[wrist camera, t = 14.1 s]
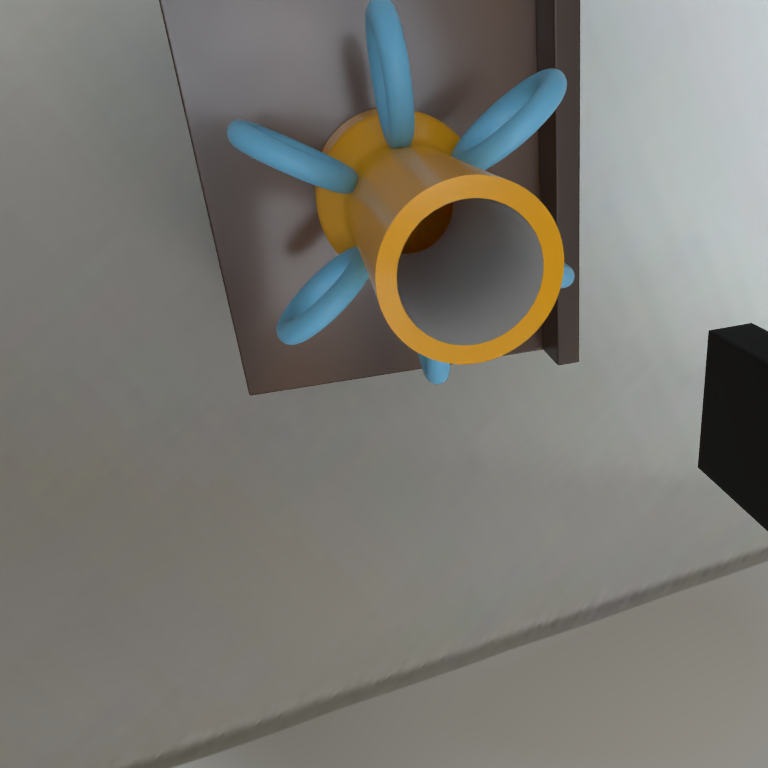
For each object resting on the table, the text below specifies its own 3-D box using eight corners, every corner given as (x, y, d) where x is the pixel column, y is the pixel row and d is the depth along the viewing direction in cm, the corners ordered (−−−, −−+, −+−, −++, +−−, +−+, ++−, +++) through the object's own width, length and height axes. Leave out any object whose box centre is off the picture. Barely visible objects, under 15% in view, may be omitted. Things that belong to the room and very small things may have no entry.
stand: (262, 321, 40) (246, 415, 29) (196, 7, 33) (139, -41, 22) (499, 285, 41) (579, 362, 29) (484, -29, 34) (581, -94, 22)
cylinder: (521, 299, 30) (704, 469, 16) (297, 344, 30) (293, 557, 16) (494, -5, 25) (728, -127, 11) (224, 45, 25) (127, -18, 11)
